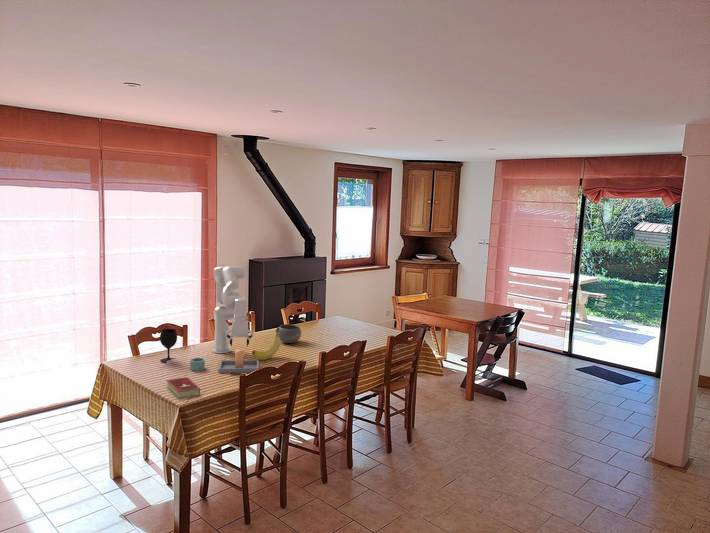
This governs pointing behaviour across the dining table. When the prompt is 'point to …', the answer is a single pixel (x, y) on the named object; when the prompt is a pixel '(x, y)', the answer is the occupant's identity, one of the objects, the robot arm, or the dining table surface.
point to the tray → (229, 367)
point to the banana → (268, 349)
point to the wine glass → (168, 341)
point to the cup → (197, 364)
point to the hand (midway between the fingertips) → (239, 345)
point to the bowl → (289, 333)
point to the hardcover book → (183, 387)
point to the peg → (239, 358)
